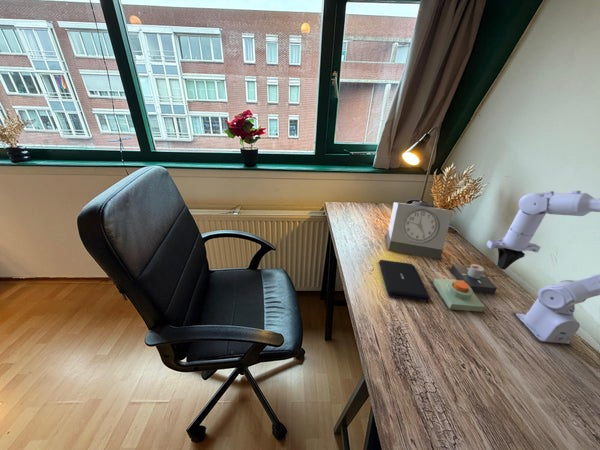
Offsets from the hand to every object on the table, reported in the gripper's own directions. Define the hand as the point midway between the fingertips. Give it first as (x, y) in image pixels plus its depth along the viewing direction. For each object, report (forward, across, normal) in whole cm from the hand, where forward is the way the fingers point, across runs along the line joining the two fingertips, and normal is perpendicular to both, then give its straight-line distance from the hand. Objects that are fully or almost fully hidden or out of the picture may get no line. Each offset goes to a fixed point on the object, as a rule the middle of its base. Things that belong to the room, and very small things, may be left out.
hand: (501, 267), depth 80 cm
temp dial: (+8, +3, -5) cm, 10 cm away
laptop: (+10, +29, -2) cm, 31 cm away
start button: (+7, +13, +4) cm, 15 cm away
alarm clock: (+10, +17, -27) cm, 34 cm away
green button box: (+10, +13, +4) cm, 17 cm away
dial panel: (+10, +3, -5) cm, 12 cm away
